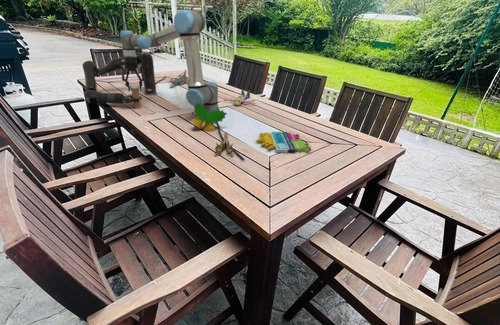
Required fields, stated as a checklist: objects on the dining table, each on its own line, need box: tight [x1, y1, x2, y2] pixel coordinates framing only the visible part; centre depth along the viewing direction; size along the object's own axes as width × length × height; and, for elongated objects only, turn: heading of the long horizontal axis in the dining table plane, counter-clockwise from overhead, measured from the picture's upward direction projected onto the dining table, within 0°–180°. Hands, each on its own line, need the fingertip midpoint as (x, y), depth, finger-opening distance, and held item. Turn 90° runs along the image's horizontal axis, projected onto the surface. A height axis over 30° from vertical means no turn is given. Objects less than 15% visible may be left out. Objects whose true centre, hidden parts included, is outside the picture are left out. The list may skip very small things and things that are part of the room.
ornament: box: [191, 102, 228, 132], centre depth 162 cm, size 21×8×15 cm, turn 105°
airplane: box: [165, 69, 190, 88], centre depth 260 cm, size 38×31×10 cm
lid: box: [129, 83, 140, 89], centre depth 184 cm, size 6×6×2 cm
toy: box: [223, 89, 257, 106], centre depth 219 cm, size 28×7×30 cm
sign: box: [256, 131, 312, 154], centre depth 152 cm, size 26×2×30 cm
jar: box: [130, 87, 142, 109], centre depth 188 cm, size 5×5×16 cm
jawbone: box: [214, 131, 234, 156], centre depth 136 cm, size 9×15×10 cm
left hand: (140, 99), depth 189 cm, fingers closed on jar, 5 cm apart
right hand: (135, 90), depth 186 cm, fingers open, 7 cm apart
